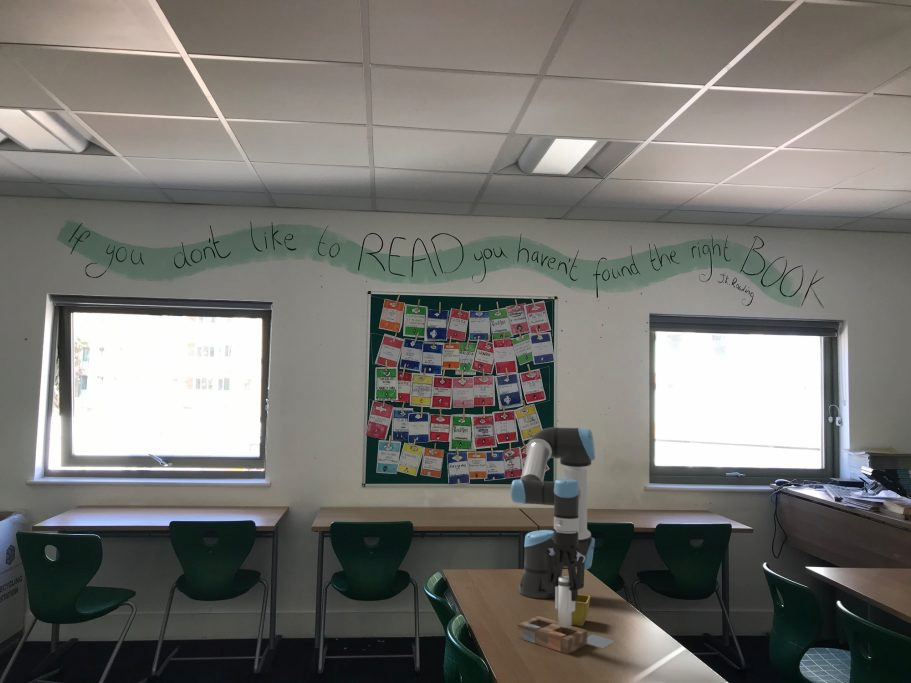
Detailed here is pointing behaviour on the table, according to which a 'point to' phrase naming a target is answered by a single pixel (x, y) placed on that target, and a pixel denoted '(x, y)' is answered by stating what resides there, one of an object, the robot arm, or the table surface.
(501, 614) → the table surface
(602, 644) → the mat
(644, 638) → the table surface
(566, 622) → the plug
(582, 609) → the flower pot
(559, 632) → the socket block
